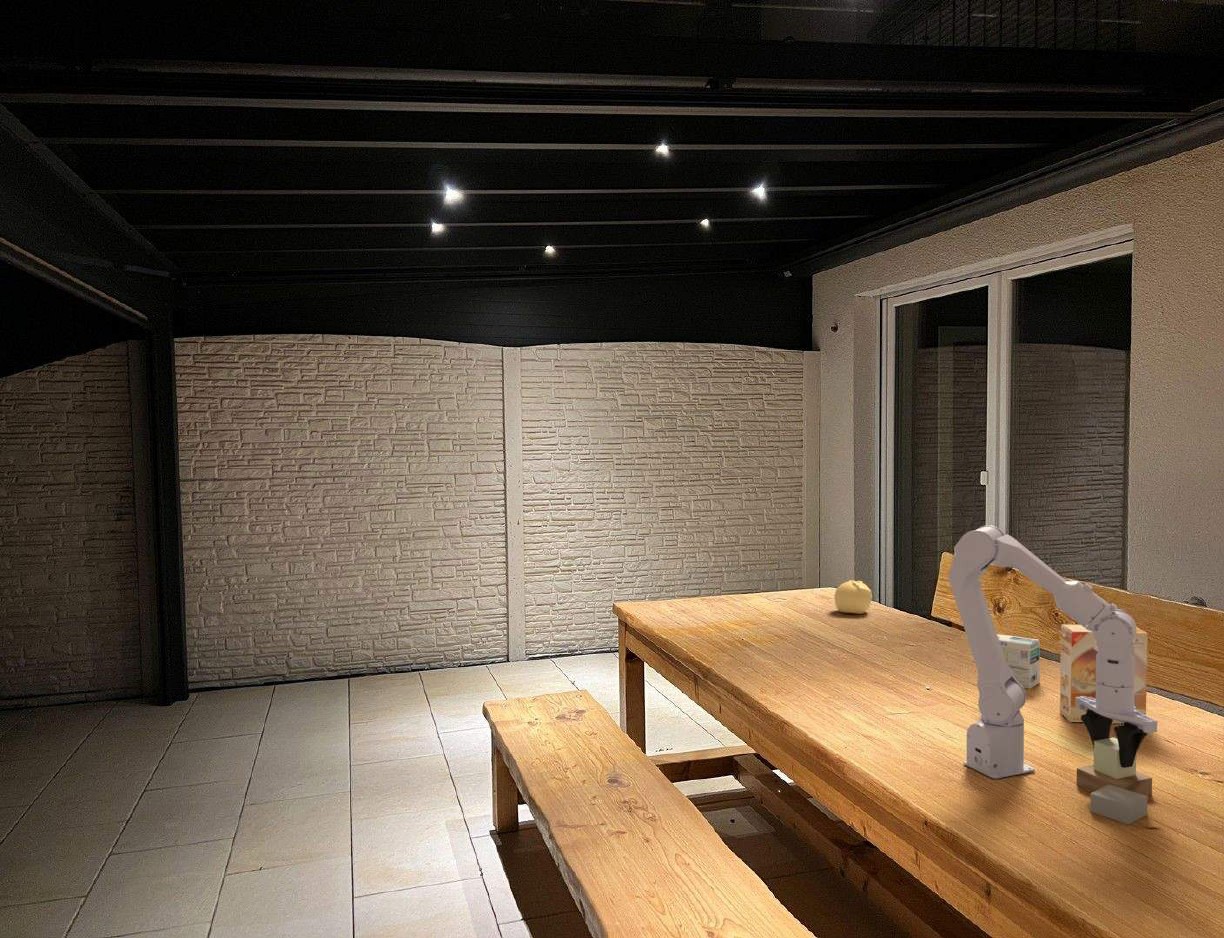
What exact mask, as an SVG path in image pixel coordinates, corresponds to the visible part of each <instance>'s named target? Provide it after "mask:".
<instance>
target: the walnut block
mask: <svg viewBox="0 0 1224 938" xmlns="http://www.w3.org/2000/svg"><path fill="white" fill-rule="evenodd" d="M1078 785H1079V786H1078ZM1107 785H1113V786H1116V787H1119V788H1122V789H1126V790H1129V791H1132V792H1135V793H1138V794H1142V795H1145V796H1147V797H1150V796H1149V795H1151V796H1152V795H1153V777H1151V776H1148V775H1146V774H1144V773H1141V772H1139V771H1136V775H1134V776H1129V777H1124V778H1119V779H1115V778H1113V777H1110V776H1108V775H1106V774H1103V773H1101V772H1098V771H1096V770H1094V764H1091V765H1085V766H1081V767H1080V766H1079V767H1076V786H1078V787H1080V786H1081V787H1080V788H1083V789H1085V788H1086V789H1085V790H1087V789H1088V790H1087V791H1089V790H1090V791H1089V792H1091V793H1092V792H1095V791H1097V790H1099V789H1101V788H1103V787H1105V786H1107Z"/></svg>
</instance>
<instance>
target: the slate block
mask: <svg viewBox="0 0 1224 938" xmlns="http://www.w3.org/2000/svg"><path fill="white" fill-rule="evenodd" d="M1089 800H1090V802H1089V804H1090V806H1089V807H1090V813H1093V814H1096V815H1099V816H1102V817H1105V818H1109V819H1111V820H1113V821H1114V820H1115V821H1117V822H1120V823H1124V824H1126V825H1129V826H1130V825H1131V824H1133V823H1135V822H1136V821H1138V820H1140V819H1141V818H1144V817H1145V816H1148V796H1145V795H1142V794H1138V793H1135V792H1132V791H1129V790H1126V789H1122V788H1119V787H1116V786H1113V785H1107V786H1105V787H1103V788H1101V789H1099V790H1097V791H1095V792H1091V793H1090V799H1089Z"/></svg>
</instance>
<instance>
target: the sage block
mask: <svg viewBox="0 0 1224 938" xmlns="http://www.w3.org/2000/svg"><path fill="white" fill-rule="evenodd" d="M1093 765H1094V770H1096V771H1098V772H1101V773H1103V774H1106V775H1108V776H1110V777H1113V778H1115V779H1119V778H1124V777H1129V776H1134V775H1136V772H1137V755H1136V756H1135V759H1134V763H1133V766H1132V767H1127V768H1123V767H1121V765H1120V758H1119V745H1118V739H1117V737H1109V738H1108V739H1103V740H1097V741H1094V748H1093Z"/></svg>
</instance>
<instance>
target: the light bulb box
mask: <svg viewBox="0 0 1224 938" xmlns="http://www.w3.org/2000/svg"><path fill="white" fill-rule="evenodd" d="M997 636H998V639H999V642H1000V645H1001V648H1002V651H1003V654H1004V657H1005V660H1006V663H1007V664H1008V666H1009V667H1010V668H1011V669H1012V670H1013V673H1014V676H1015V678H1016V680H1017V681H1018V682H1019V683H1020V684H1021V685H1022V686H1023V688H1024V689H1032V688H1034V687H1036V686H1037V685H1038V684H1040V683H1041V667H1040V666H1041V663H1040V662H1041V661H1040V660H1041V659H1040V656H1041V654H1040V653H1041V652H1040V650H1041V647H1040V646H1041V644H1040V643H1041V642H1040V641H1041V640H1040V639H1038V638H1030V637H1029V638H1028V637H1023V636H1014V635H1008V634H999V633H997Z"/></svg>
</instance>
